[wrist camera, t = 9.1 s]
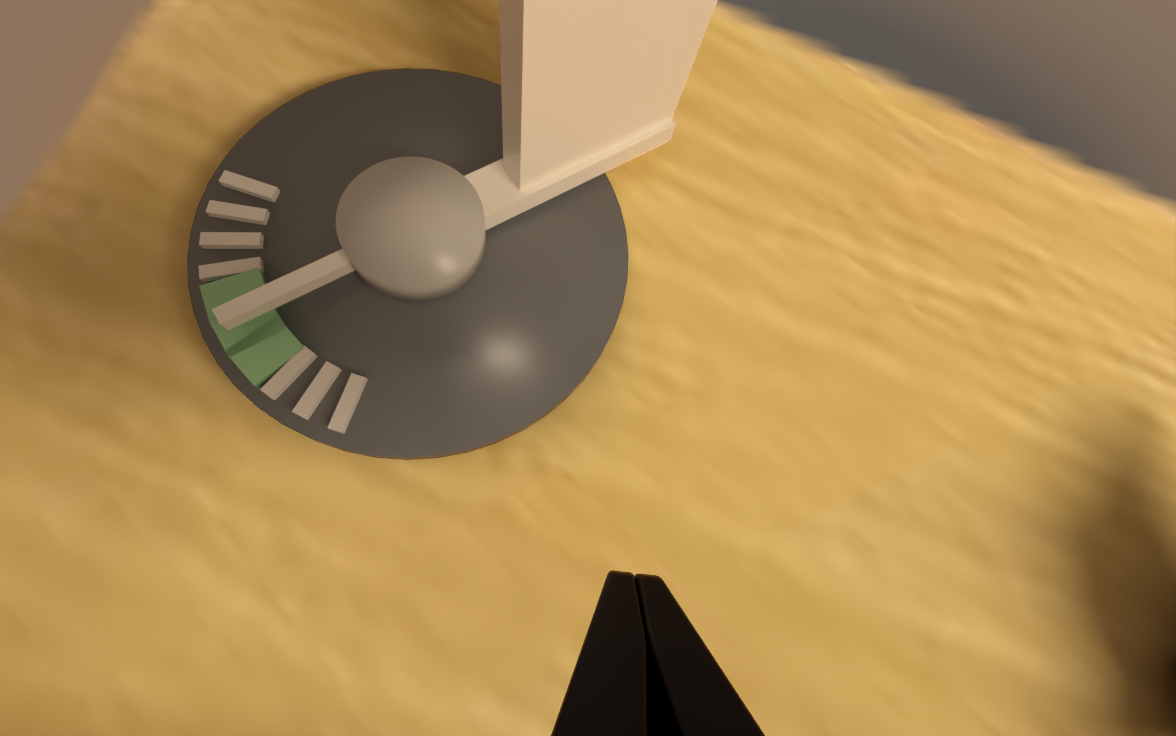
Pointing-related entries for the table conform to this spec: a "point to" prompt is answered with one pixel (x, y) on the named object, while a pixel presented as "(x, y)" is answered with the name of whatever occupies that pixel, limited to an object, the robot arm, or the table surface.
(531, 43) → the rotary selector knob
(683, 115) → the table surface
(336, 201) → the tuner dial
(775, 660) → the table surface
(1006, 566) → the table surface
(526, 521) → the table surface
